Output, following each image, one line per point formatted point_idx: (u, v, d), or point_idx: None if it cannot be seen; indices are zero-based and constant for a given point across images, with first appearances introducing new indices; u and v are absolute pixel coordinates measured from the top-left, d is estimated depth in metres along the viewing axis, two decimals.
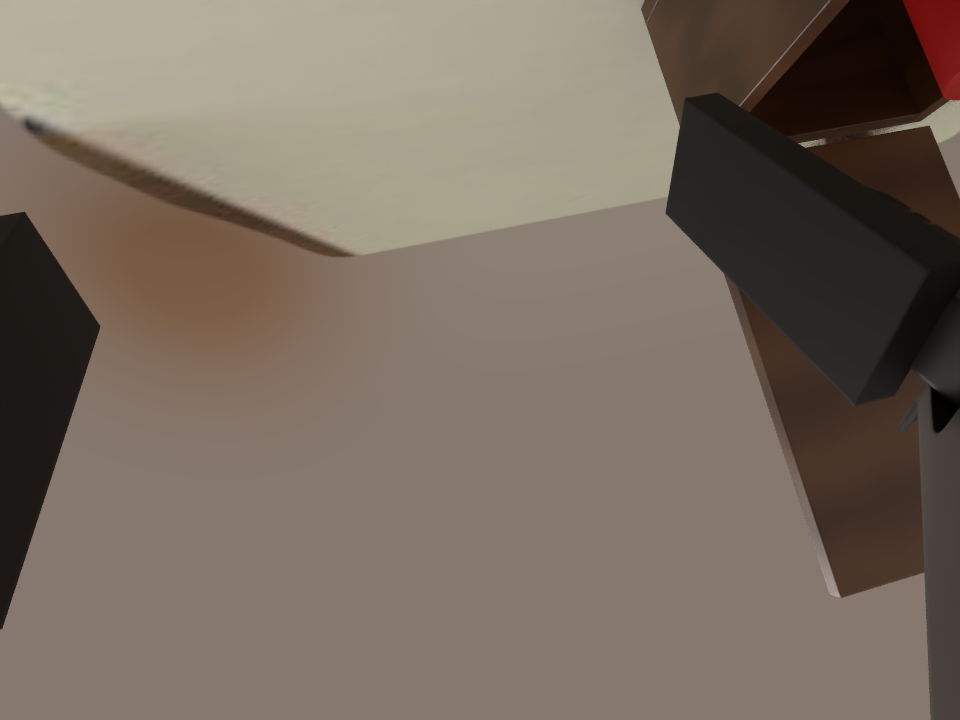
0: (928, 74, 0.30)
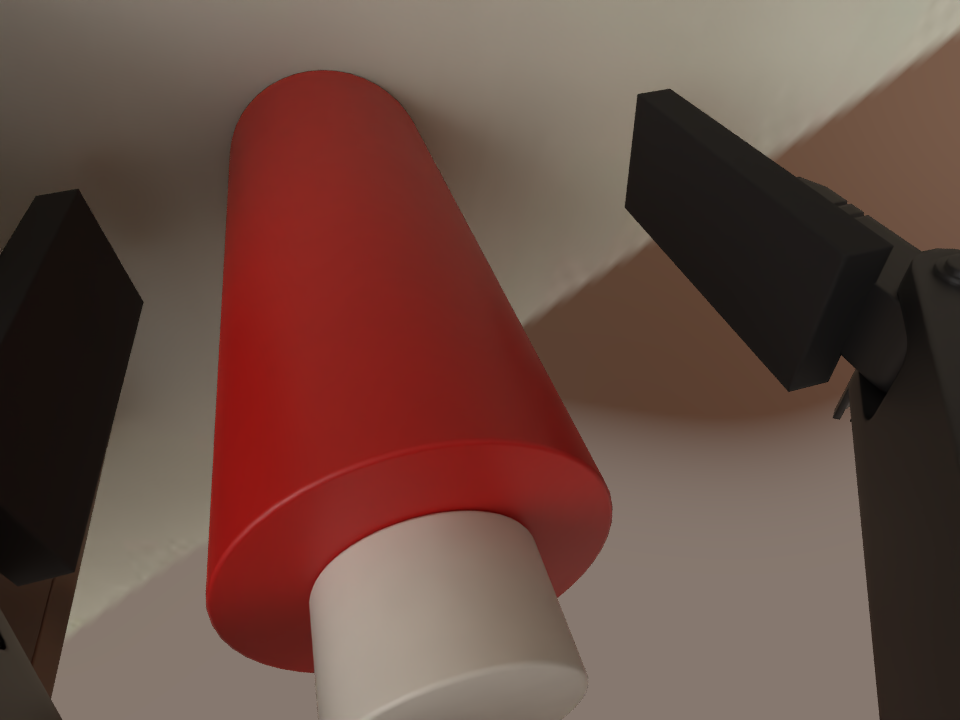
0: None
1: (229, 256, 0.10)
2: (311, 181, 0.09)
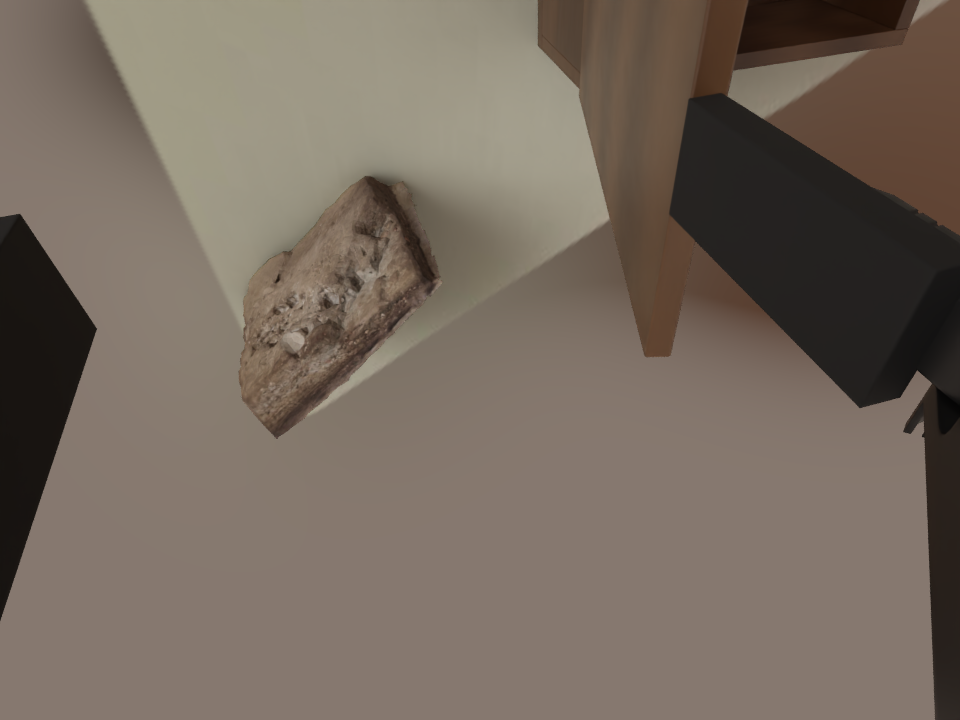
0: None
1: None
2: None
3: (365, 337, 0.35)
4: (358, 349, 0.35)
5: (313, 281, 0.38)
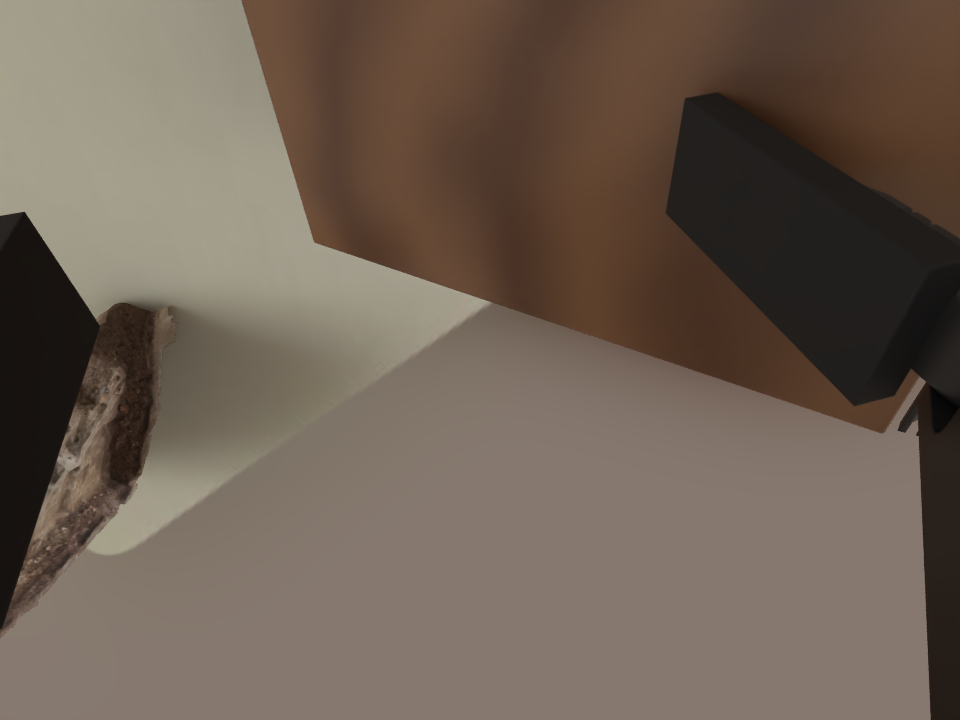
0: None
1: None
2: None
3: (48, 554, 0.26)
4: (43, 568, 0.26)
5: None
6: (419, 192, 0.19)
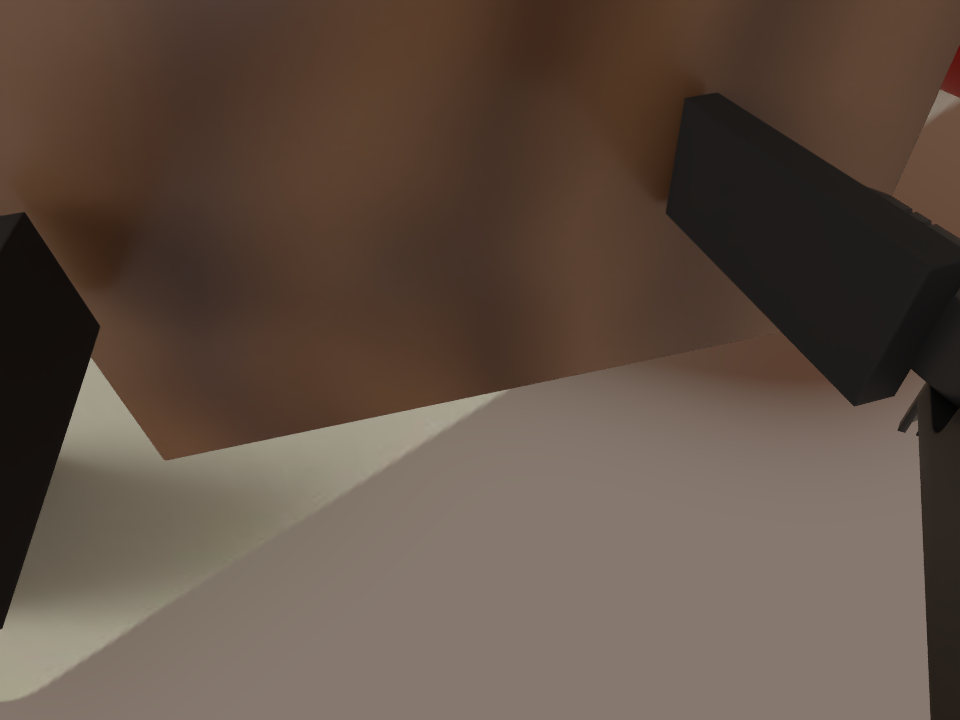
0: None
1: None
2: None
3: None
4: None
5: None
6: (352, 320, 0.15)
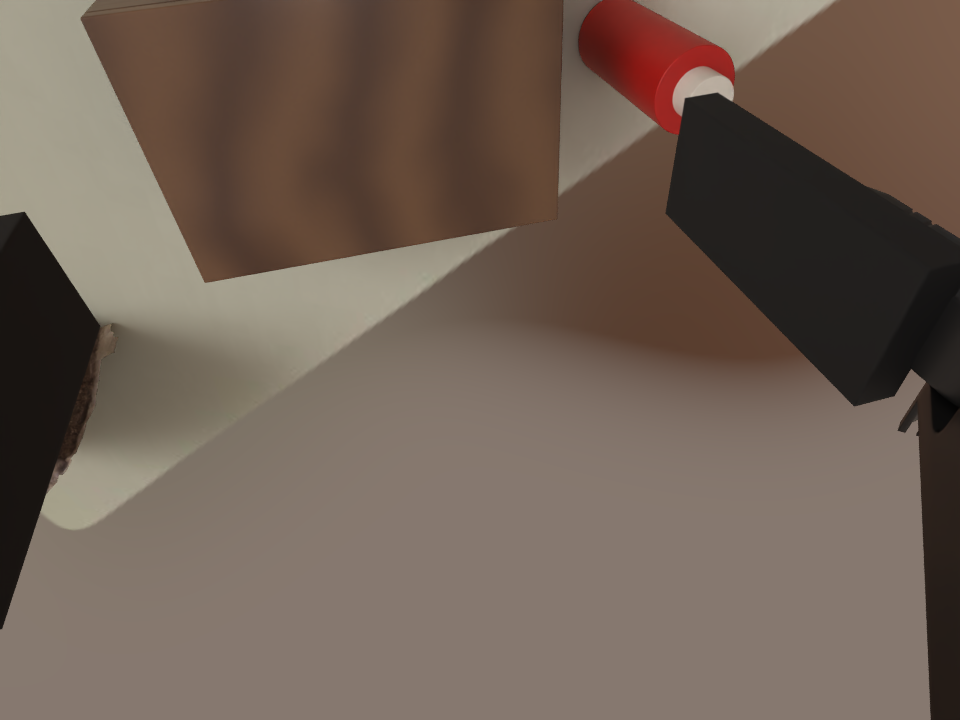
0: None
1: (621, 40, 0.35)
2: (647, 18, 0.34)
3: None
4: None
5: None
6: (295, 206, 0.32)
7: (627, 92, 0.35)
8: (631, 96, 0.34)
